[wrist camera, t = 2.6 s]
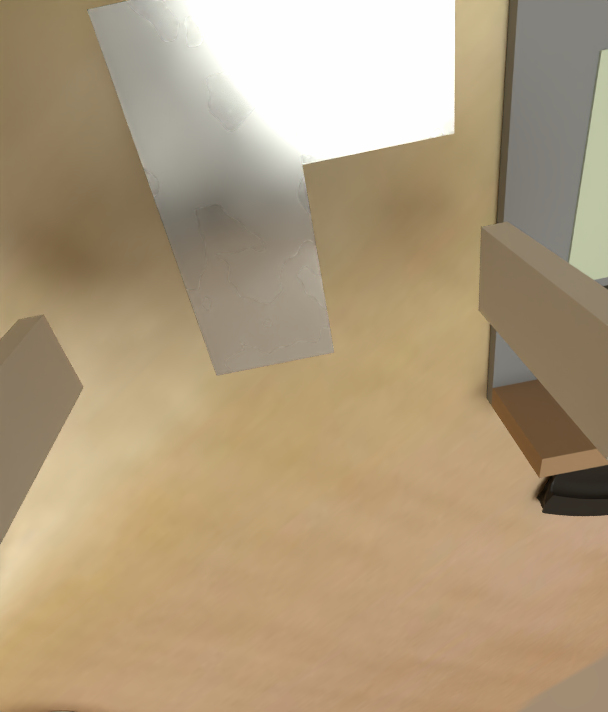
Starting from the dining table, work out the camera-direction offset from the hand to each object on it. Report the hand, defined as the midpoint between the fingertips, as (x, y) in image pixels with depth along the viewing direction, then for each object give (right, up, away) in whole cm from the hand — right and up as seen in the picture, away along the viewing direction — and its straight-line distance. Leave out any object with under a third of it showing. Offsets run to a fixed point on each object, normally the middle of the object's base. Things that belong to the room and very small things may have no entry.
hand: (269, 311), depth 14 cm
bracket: (+1, +6, +3) cm, 7 cm away
